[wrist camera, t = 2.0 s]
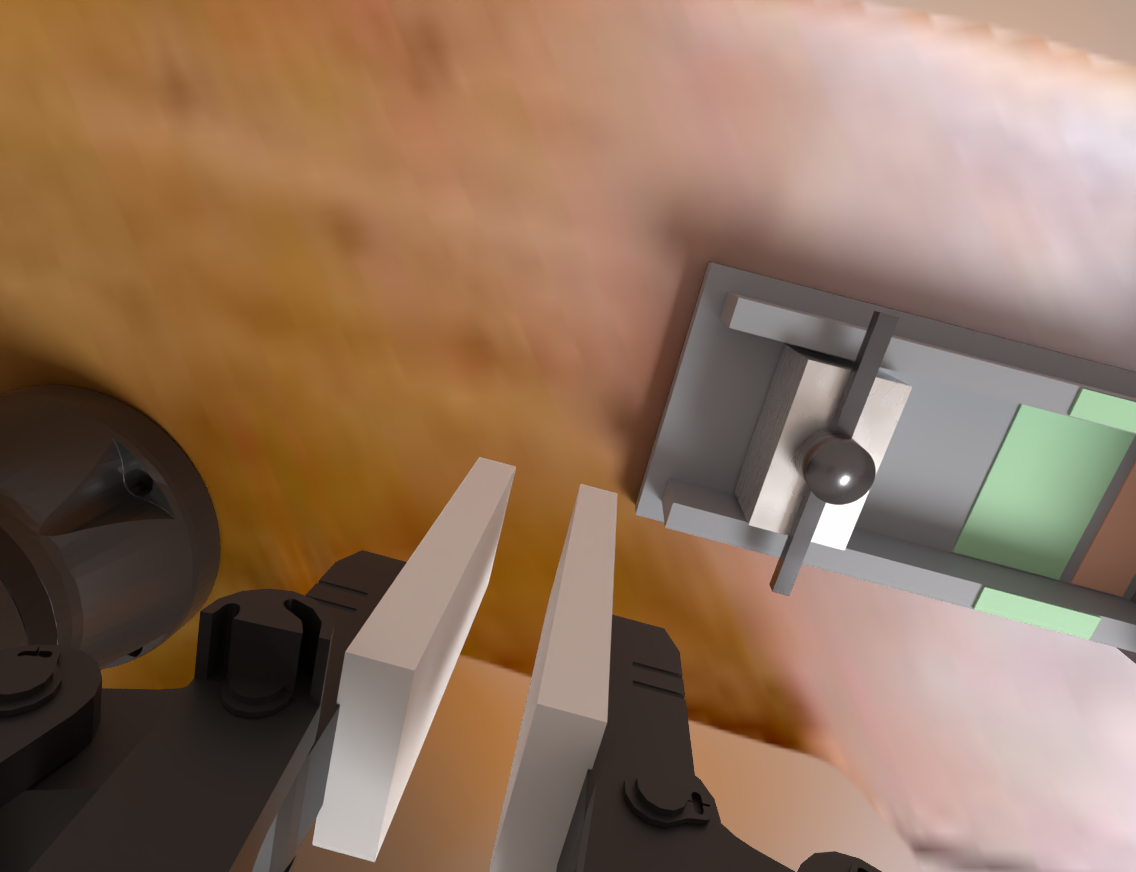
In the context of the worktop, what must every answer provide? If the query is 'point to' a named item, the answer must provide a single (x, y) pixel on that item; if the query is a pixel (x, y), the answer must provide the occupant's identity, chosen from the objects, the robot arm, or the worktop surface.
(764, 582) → the worktop surface
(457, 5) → the worktop surface
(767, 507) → the slider
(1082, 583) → the gauge bed
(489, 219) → the worktop surface
